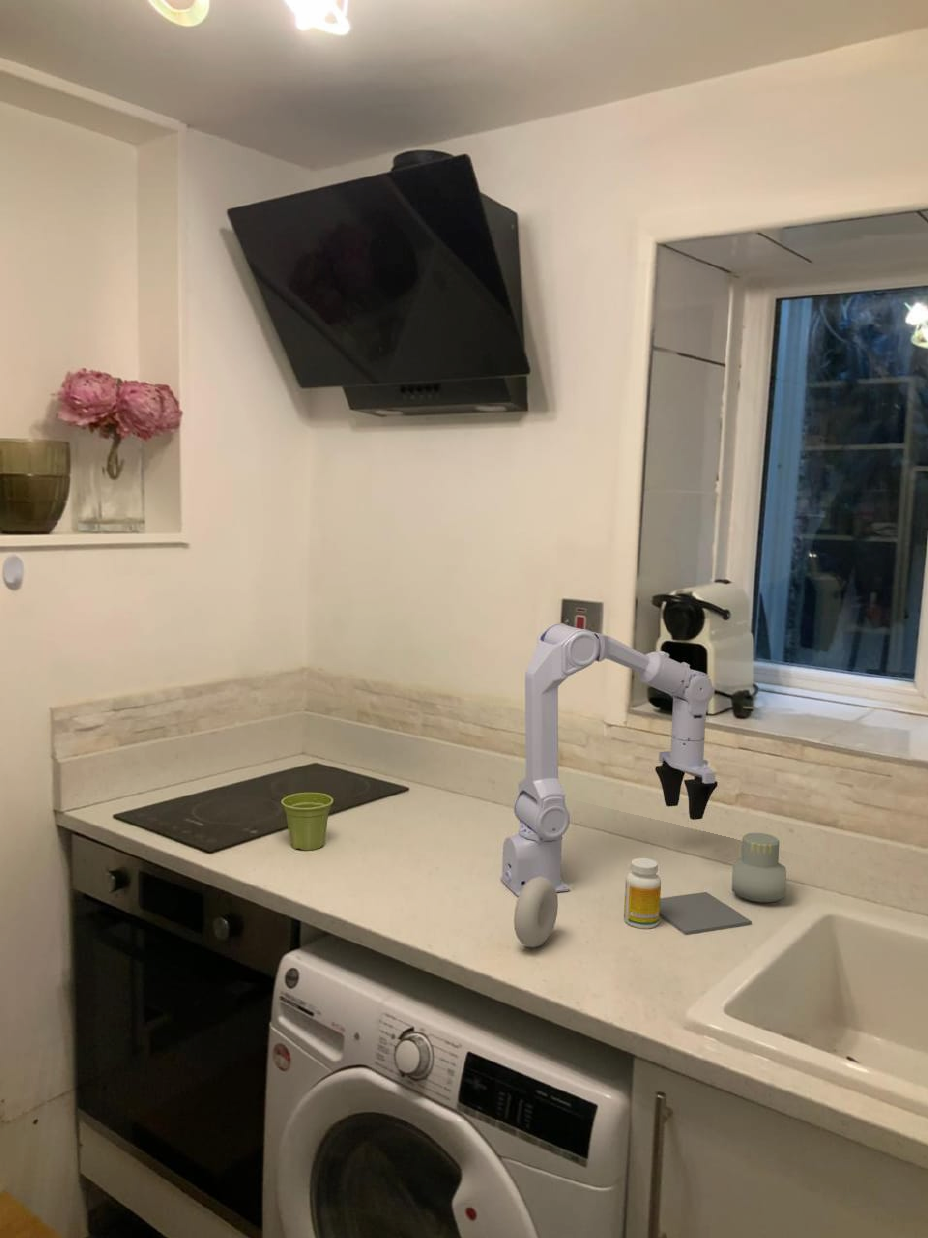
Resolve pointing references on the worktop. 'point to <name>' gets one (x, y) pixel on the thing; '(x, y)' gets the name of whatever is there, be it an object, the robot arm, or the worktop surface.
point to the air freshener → (759, 869)
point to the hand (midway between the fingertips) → (683, 812)
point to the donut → (535, 912)
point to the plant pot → (307, 819)
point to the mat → (699, 913)
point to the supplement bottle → (642, 894)
